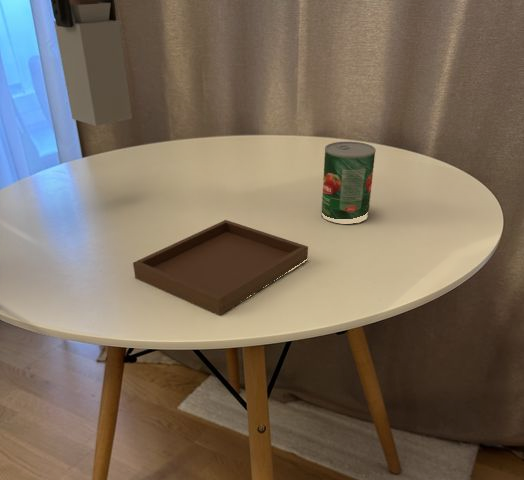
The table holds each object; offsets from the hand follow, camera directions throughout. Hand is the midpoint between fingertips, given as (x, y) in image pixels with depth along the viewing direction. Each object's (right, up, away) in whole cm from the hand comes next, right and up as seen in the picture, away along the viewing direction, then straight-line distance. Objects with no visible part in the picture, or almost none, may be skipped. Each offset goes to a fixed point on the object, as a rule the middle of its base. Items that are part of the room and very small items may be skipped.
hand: (87, 23), depth 80 cm
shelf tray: (+20, -37, -4) cm, 42 cm away
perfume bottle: (0, -11, +8) cm, 13 cm away
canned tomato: (+40, -26, +12) cm, 48 cm away
